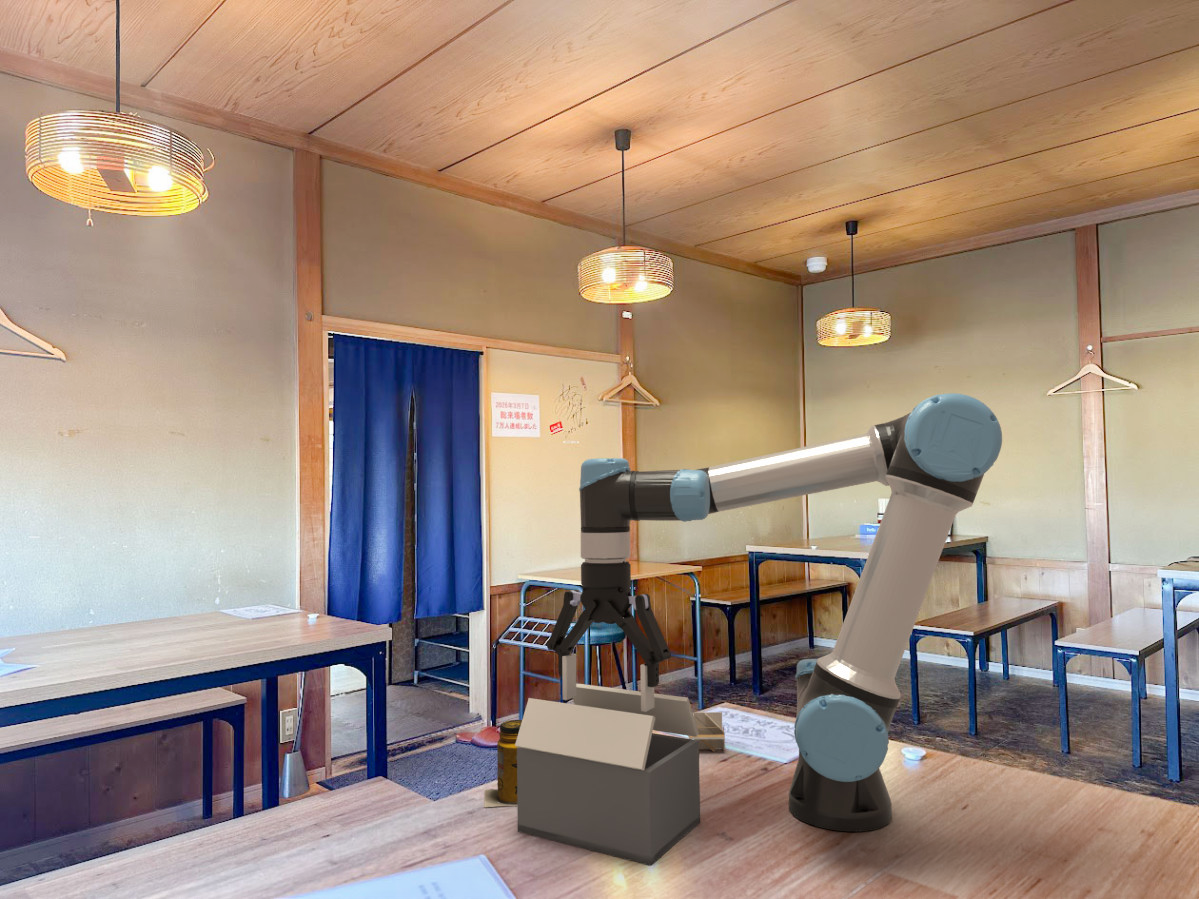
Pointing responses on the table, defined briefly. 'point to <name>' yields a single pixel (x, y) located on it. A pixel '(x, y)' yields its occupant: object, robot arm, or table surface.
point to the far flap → (667, 710)
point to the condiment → (505, 767)
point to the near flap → (586, 733)
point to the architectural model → (709, 730)
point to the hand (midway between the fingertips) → (607, 703)
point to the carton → (612, 800)
